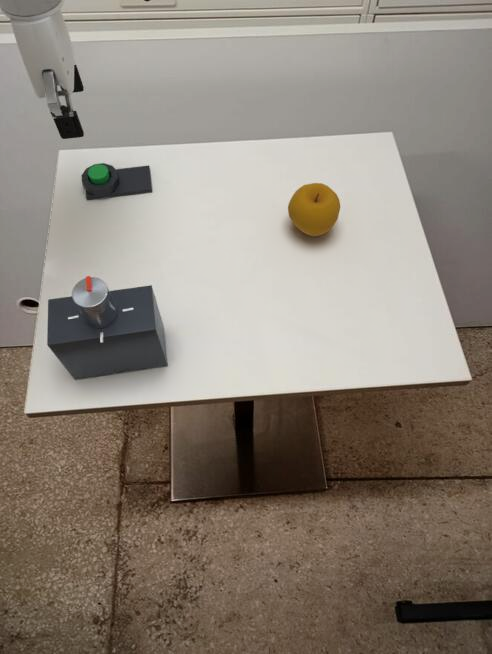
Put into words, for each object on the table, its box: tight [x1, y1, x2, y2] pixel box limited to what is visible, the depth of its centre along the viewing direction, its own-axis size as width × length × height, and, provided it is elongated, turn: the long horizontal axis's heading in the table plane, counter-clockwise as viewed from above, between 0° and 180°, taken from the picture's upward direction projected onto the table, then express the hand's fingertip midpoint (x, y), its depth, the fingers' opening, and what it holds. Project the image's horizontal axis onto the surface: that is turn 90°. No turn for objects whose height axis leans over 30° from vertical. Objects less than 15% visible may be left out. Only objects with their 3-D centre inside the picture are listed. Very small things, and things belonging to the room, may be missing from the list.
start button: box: [88, 163, 110, 185], centre depth 91 cm, size 4×4×2 cm
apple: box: [287, 182, 341, 237], centre depth 85 cm, size 8×8×9 cm
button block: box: [81, 162, 153, 201], centre depth 92 cm, size 12×6×2 cm, turn 100°
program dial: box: [71, 275, 117, 328], centre depth 64 cm, size 4×4×6 cm
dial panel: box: [46, 284, 169, 381], centre depth 72 cm, size 14×9×12 cm, turn 100°
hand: (73, 113), depth 73 cm, fingers open, 9 cm apart
